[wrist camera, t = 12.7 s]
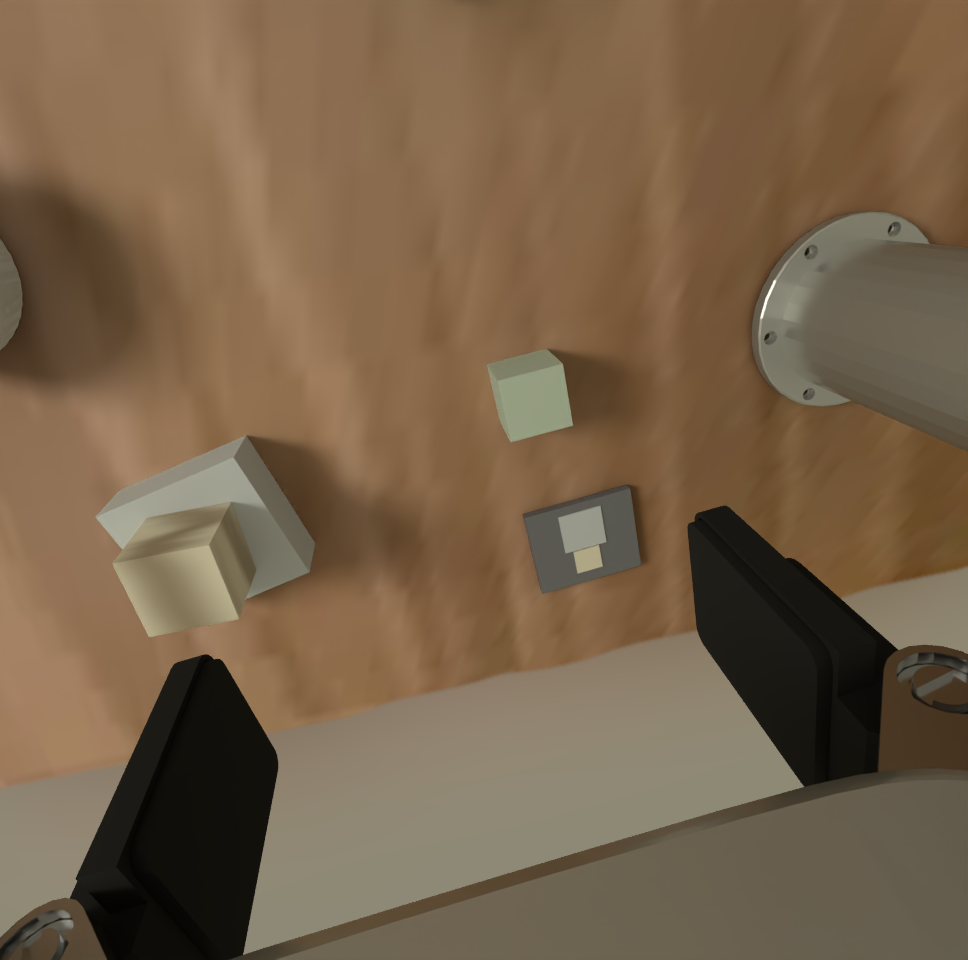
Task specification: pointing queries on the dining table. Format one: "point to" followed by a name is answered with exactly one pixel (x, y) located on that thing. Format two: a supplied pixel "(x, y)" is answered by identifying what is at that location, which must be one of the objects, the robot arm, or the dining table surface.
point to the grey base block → (218, 480)
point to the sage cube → (530, 394)
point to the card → (583, 538)
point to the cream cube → (187, 569)
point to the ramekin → (9, 296)
